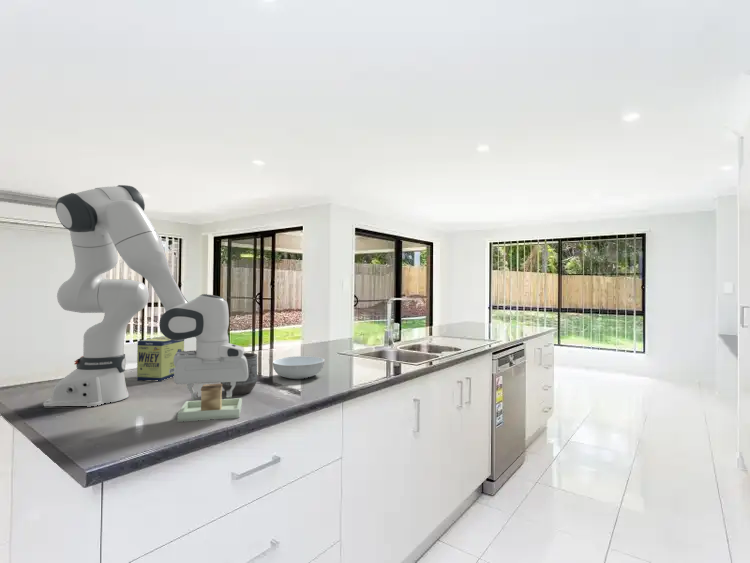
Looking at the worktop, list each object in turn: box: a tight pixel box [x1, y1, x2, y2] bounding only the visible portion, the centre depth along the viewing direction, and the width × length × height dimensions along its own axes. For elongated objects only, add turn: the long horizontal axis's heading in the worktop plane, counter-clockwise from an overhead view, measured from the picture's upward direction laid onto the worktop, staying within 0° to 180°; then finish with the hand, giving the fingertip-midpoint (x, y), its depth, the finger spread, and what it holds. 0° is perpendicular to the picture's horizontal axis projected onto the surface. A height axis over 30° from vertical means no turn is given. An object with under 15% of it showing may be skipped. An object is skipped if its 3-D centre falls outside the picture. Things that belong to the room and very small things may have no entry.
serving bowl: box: [272, 355, 325, 380], centre depth 171 cm, size 21×21×7 cm
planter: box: [220, 352, 258, 396], centre depth 146 cm, size 12×12×13 cm
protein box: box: [136, 335, 185, 382], centre depth 169 cm, size 10×16×16 cm
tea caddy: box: [200, 383, 223, 411], centre depth 121 cm, size 5×5×7 cm
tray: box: [177, 397, 243, 423], centre depth 121 cm, size 16×12×2 cm
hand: (212, 397), depth 121 cm, fingers open, 8 cm apart
